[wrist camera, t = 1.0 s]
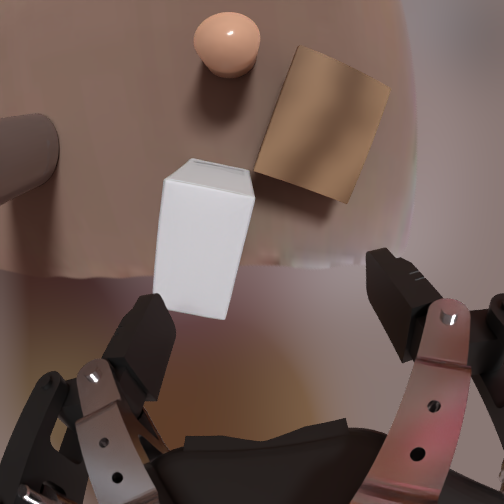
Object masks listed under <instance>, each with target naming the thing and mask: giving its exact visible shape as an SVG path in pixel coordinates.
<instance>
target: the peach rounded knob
mask: <svg viewBox="0 0 504 504" xmlns="http://www.w3.org/2000/svg"><path fill="white" fill-rule="evenodd" d="M259 44H260V32H259V30H258V28H257V26H256V24H255V23H254V22H253V21H252V20H251V19H249V18H248V17H246V16H244V15H242V14H239V13H233V12H224V13H219V14H215V15H213V16H211V17H209V18H207V19H206V20H204V21H203V22H202V23H201V24H200V25H199V27H198V28H197V30H196V32H195V35H194V47H195V50H196V52H197V54H198V55H199V56H200V58H201V59H202V61H203V62H204V63H205V65H206V66H207V68H208V69H209V70H210V71H211V72H212V73H213V74H215V75H216V76H219V77H222V78H237V77H240V76H243V75H244V74H246V73H247V72H249V71H250V70H251V69H252V67H253V66H254V64H255V62H256V58H257V53H258V49H259Z"/></svg>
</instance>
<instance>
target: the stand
mask: <svg viewBox="0 0 504 504" xmlns="http://www.w3.org/2000/svg"><path fill="white" fill-rule="evenodd" d="M390 91H391V88H389V87H388V86H386V85H384V84H382V83H381V82H379V81H377V80H375V79H373V78H372V77H370V76H368V75H366V74H364V73H362V72H360V71H358V70H356V69H354V68H352V67H350V66H348V65H346V64H344V63H342V62H340V61H338V60H335V59H333V58H331V57H329V56H326V55H324V54H322V53H319V52H317V51H314V50H312V49H309V48H307V47H304V46H301V45H299V46H298V47H297V50H296V52H295V55H294V58H293V60H292V63H291V65H290V68H289V71H288V73H287V76H286V79H285V82H284V84H283V87H282V90H281V92H280V95H279V98H278V101H277V103H276V106H275V109H274V112H273V114H272V117H271V120H270V123H269V126H268V128H267V131H266V134H265V137H264V140H263V143H262V145H261V148H260V151H259V154H258V157H257V160H256V163H255V166H254V169H253V170H254V171H255V172H258V173H261V174H264V175H267V176H271V177H274V178H277V179H280V180H282V181H285V182H288V183H291V184H294V185H297V186H300V187H303V188H305V189H308V190H311V191H314V192H316V193H319V194H322V195H324V196H327V197H330V198H332V199H335V200H337V201H340V202H343V203H345V204H347V203H348V201H349V199H350V196H351V194H352V192H353V189H354V187H355V185H356V182H357V180H358V177H359V175H360V172H361V170H362V167H363V165H364V162H365V160H366V157H367V155H368V152H369V150H370V147H371V144H372V142H373V139H374V136H375V134H376V131H377V128H378V126H379V123H380V120H381V117H382V114H383V112H384V109H385V106H386V103H387V100H388V97H389V94H390Z"/></svg>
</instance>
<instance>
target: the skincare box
mask: <svg viewBox="0 0 504 504" xmlns="http://www.w3.org/2000/svg"><path fill="white" fill-rule="evenodd" d="M254 203H255V195H254V191H253V186H252V182H251V177H250V171H249V170H245V169H241V168H237V167H231V166H226V165H222V164H217V163H212V162H208V161H203V160H198V159H194V158H192V159H189V161H188V162H187V163H185V164H184V165H183V166H182V167H180V168H179V169H178V170H177V171H175V172H174V173H173V174H171V175H170V176H168V177H167V178H166V179H164V181H163V191H162V199H161V207H160V216H159V224H158V234H157V245H156V256H155V268H154V281H153V294H154V293H158V294H160V295H161V297H162V299H163V301H164V303H165V305H166V308H167V310H171V311H176V312H181V313H186V314H192V315H197V316H202V317H207V318H215V319H221V320H225V318H226V315H227V310H228V307H229V303H230V299H231V295H232V291H233V287H234V283H235V278H236V275H237V271H238V267H239V263H240V259H241V255H242V251H243V247H244V243H245V239H246V235H247V231H248V227H249V223H250V219H251V215H252V211H253V207H254Z"/></svg>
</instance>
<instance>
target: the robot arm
mask: <svg viewBox="0 0 504 504" xmlns="http://www.w3.org/2000/svg"><path fill="white" fill-rule="evenodd" d="M58 154H59V142H58V136H57V132H56V129H55V127H54V125H53V124H52V122H51V121H50V119H48V118H47V117H46V116H44V115H42V114H28V115H20V116H12V117H5V118H0V205H2V204H4V203H6V202H8V201H10V200H11V199H13V198H15V197H17V196H19V195H21V194H23V193H25V192H27V191H29V190H31V189H34V188H36V187H38V186H40V185H42V184H43V183H45V182H46V181H47V180H48V179H49V178H50V177H51V175H52V173H53V172H54V170H55V167H56V164H57V160H58ZM366 289H367V295H368V299H369V301H370V303H371V305H372V307H373V309H374V311H375V312H376V314H377V316H378V318H379V320H380V321H381V323H382V325H383V327H384V329H385V331H386V333H387V334H388V336H389V338H390V340H391V342H392V344H393V346H394V348H395V350H396V352H397V354H398V356H399V358H400V360H401V362H402V363H404V362H407V361H410V360H413V361H414V366H413V369H412V372H411V375H410V378H409V381H408V385H407V387H406V390H405V393H404V395H403V398H402V401H401V404H400V406H399V409H398V411H397V414H396V416H395V419H394V421H393V423H392V426H391V428H390V430H389V432H388V435H387V434H385V433H382V432H378V431H375V430H371V429H365V428H348V426H347V422H346V418H343V419H339V420H335V421H330V422H326V423H321V424H316V425H311V426H306V427H303V428H300V429H298V430H295V431H292V432H290V433H287V434H284V435H282V436H279V437H276V438H273V439H270V440H267V441H261V442H260V441H252V440H245V439H239V438H232V437H227V436H186V437H185V443H184V447H180V448H177V449H173V450H171V451H170V450H169V449H168V448H167V446H166V445H165V443H164V442H163V440H162V438H161V436H160V435H159V433H158V431H157V429H156V428H155V426H154V424H153V422H152V420H151V418H150V416H149V415H148V412H147V411H146V410H145V408H144V407H143V405H144V402H145V401H157V399H158V395H159V392H160V388H161V385H162V381H163V378H164V375H165V371H166V367H167V364H168V361H169V357H170V354H171V351H172V348H173V344H174V341H175V338H176V329H175V325H174V322H173V320H172V318H171V316H170V314H169V312H168V310H167V308H166V305H165V303H164V301H163V299H162V297H161V295H160V294H158V293H154V294H148V295H143V296H140V297H139V298H138V300H137V302H136V303H135V305H134V307H133V309H131V310H130V311H129V312H128V314H126V315H125V316H124V317H123V319H122V320H121V322H120V324H119V326H118V328H117V329H116V331H115V333H114V336H113V337H112V339H111V341H110V343H109V344H108V346H107V348H106V350H105V352H104V354H103V356H102V358H101V359H95V360H92V361H90V362H88V363H87V364H85V365H84V366H83V367H82V368H81V369H80V371H79V373H78V375H77V378H74V379H70V380H67V381H65V380H64V379H63V378H62V376H61V375H60V374H59V373H58V372H56V371H51V372H49V373H46V374H45V375H43V376H42V377H41V378H40V379H39V380H38V382H37V383H36V385H35V388H34V389H33V391H32V393H31V395H30V397H29V399H28V401H27V403H26V405H25V407H24V409H23V411H22V413H21V415H20V417H19V419H18V422H17V424H16V426H15V428H14V431H13V433H12V435H11V438H10V440H9V442H8V445H7V447H6V450H5V452H4V455H3V458H2V460H1V463H0V504H83V499H84V495H85V490H86V485H87V481H88V477H89V478H90V481H91V484H92V487H93V490H94V492H95V495H96V498H97V500H98V503H99V504H504V459H503V462H502V466H501V472H500V473H499V480H500V482H502V484H501V489H500V491H497V490H495V489H492V488H490V487H488V486H485V485H483V484H481V483H478V482H476V481H474V480H472V479H470V478H468V477H465V476H463V475H462V474H459V473H457V472H455V471H453V470H451V469H450V465H451V462H452V459H453V456H454V453H455V450H456V446H457V443H458V439H459V435H460V431H461V427H462V423H463V419H464V414H465V409H466V404H467V398H468V393H469V386H470V380H471V377H472V379H473V381H474V383H475V385H476V387H477V389H478V391H479V393H480V395H481V397H482V399H483V401H484V404H485V405H486V408H487V410H488V412H489V415H490V417H491V419H492V422H493V424H494V426H495V429H496V431H497V434H498V436H499V438H500V441H501V444H502V447H503V449H504V293H502V294H497V295H495V296H494V297H493V298H492V299H491V302H490V305H489V309H483V310H473V311H469V309H468V308H467V306H466V305H465V304H463V303H462V302H460V301H458V300H455V299H450V298H443V297H442V296H441V295H440V294H439V293H438V292H437V290H436V289H435V288H434V287H433V286H432V285H431V284H430V282H429V281H428V280H427V279H426V278H424V276H423V275H422V274H421V273H420V272H419V271H418V269H417V268H416V267H415V266H414V265H413V264H412V263H411V262H409V261H407V260H405V259H403V258H401V257H400V258H395V257H394V256H393V254H392V253H391V252H390V251H389V250H388V249H387V248H381V249H377V250H372V251H368V252H367V253H366ZM57 418H59V419H60V420H61V421H62V422H63V423H64V424H65V425H66V426H67V430H66V433H65V436H64V438H63V441H62V444H61V447H60V450H59V452H58V451H57V450H55V449H54V448H53V447H52V445H51V442H50V435H51V433H52V430H53V428H54V425H55V422H56V420H57Z"/></svg>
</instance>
